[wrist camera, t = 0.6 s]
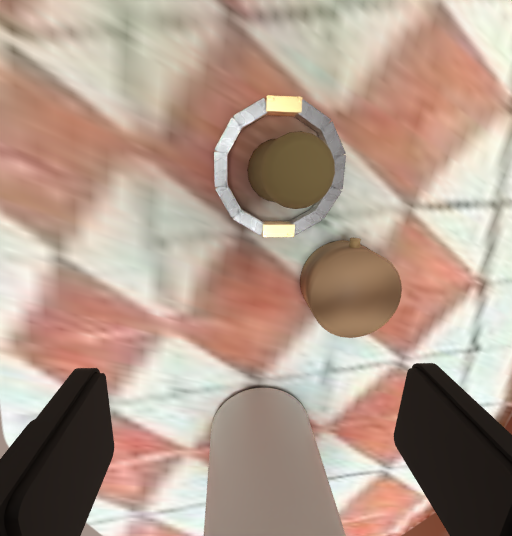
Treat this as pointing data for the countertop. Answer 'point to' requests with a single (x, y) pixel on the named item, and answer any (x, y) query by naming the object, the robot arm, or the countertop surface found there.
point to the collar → (308, 117)
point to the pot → (350, 288)
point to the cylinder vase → (267, 470)
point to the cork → (292, 170)
